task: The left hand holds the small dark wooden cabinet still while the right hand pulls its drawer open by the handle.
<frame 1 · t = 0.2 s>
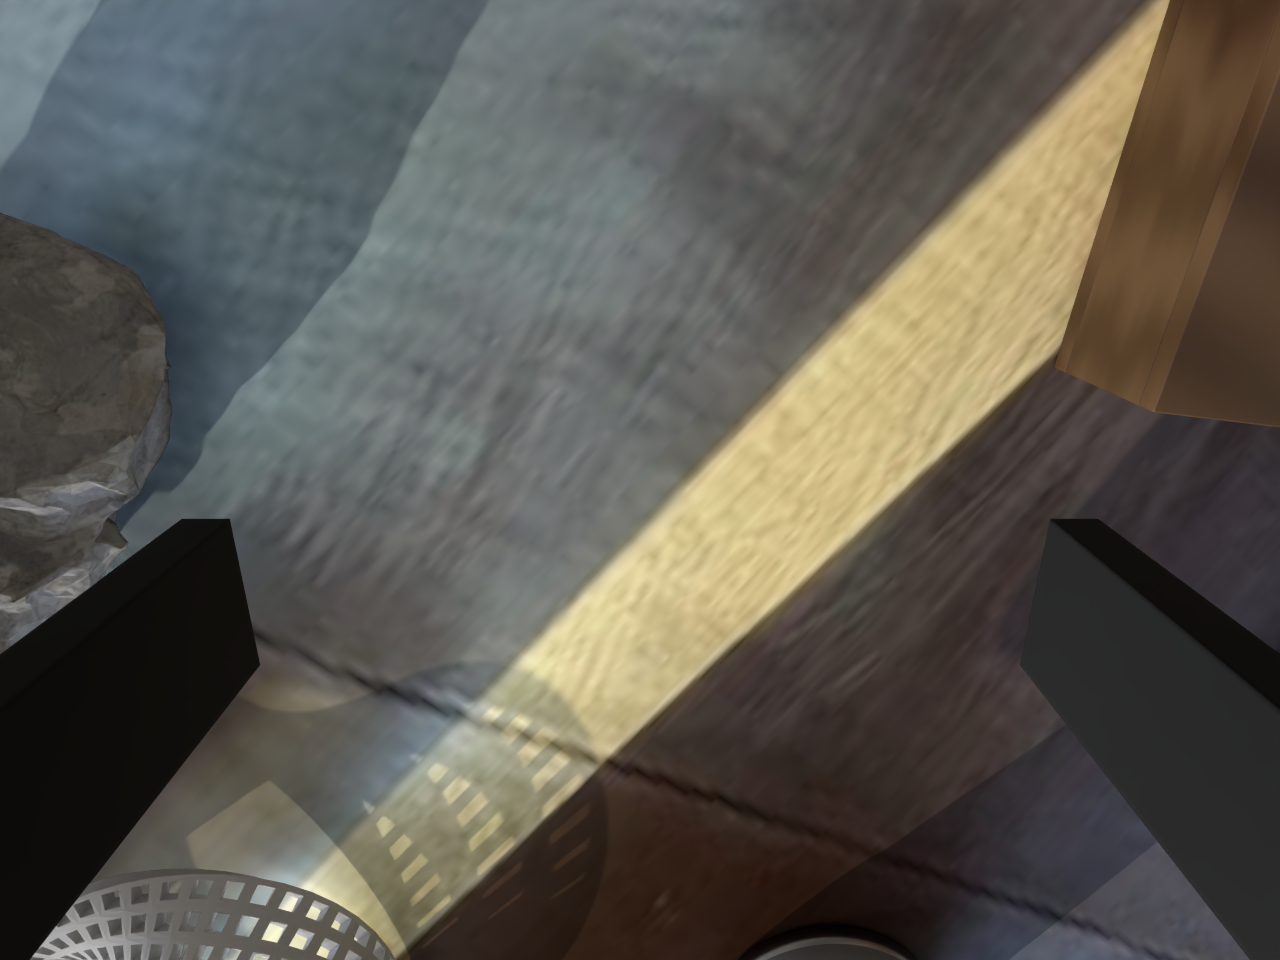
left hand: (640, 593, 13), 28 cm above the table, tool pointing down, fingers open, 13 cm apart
cabinet: (1222, 200, 37), on the table
decorative stone 2: (13, 486, 42), on the table
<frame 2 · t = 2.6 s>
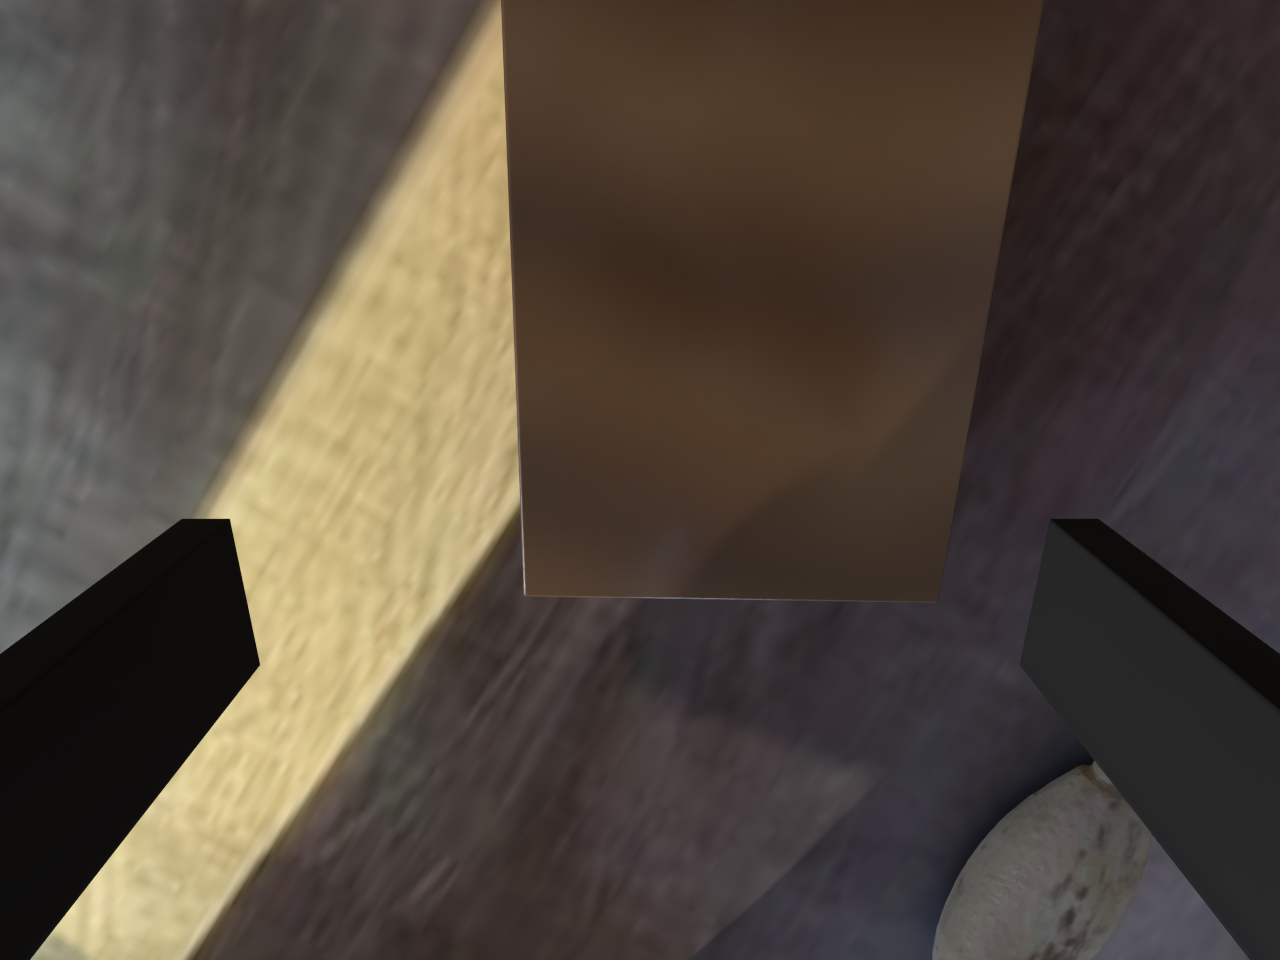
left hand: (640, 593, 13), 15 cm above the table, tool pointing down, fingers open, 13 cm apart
cabinet: (719, 232, 25), on the table
decorative stone: (1024, 857, 34), on the table
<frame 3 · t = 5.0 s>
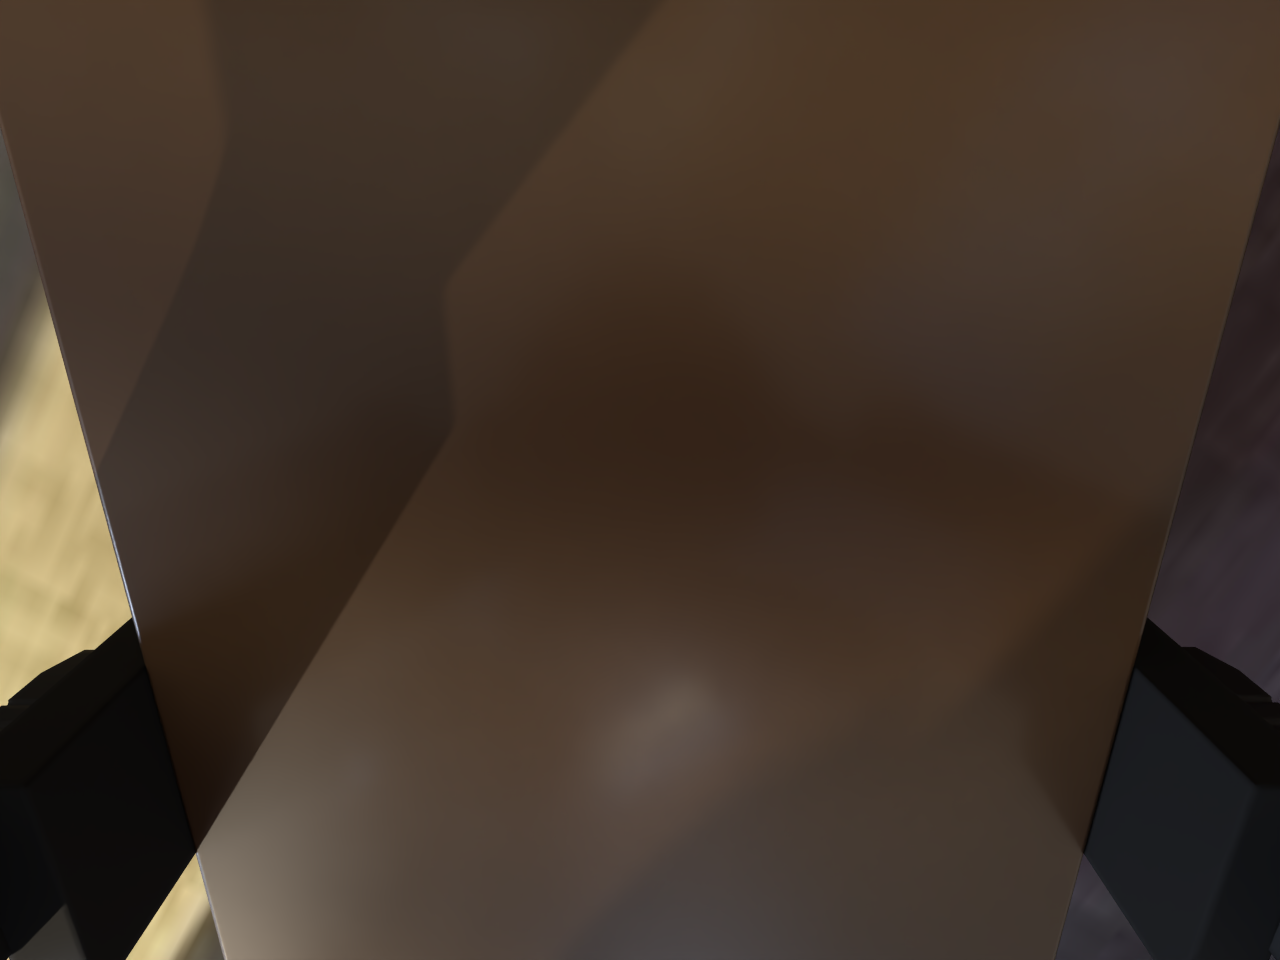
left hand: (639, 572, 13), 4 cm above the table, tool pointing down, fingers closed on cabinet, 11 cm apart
cabinet: (640, 273, 15), on the table, touching left hand
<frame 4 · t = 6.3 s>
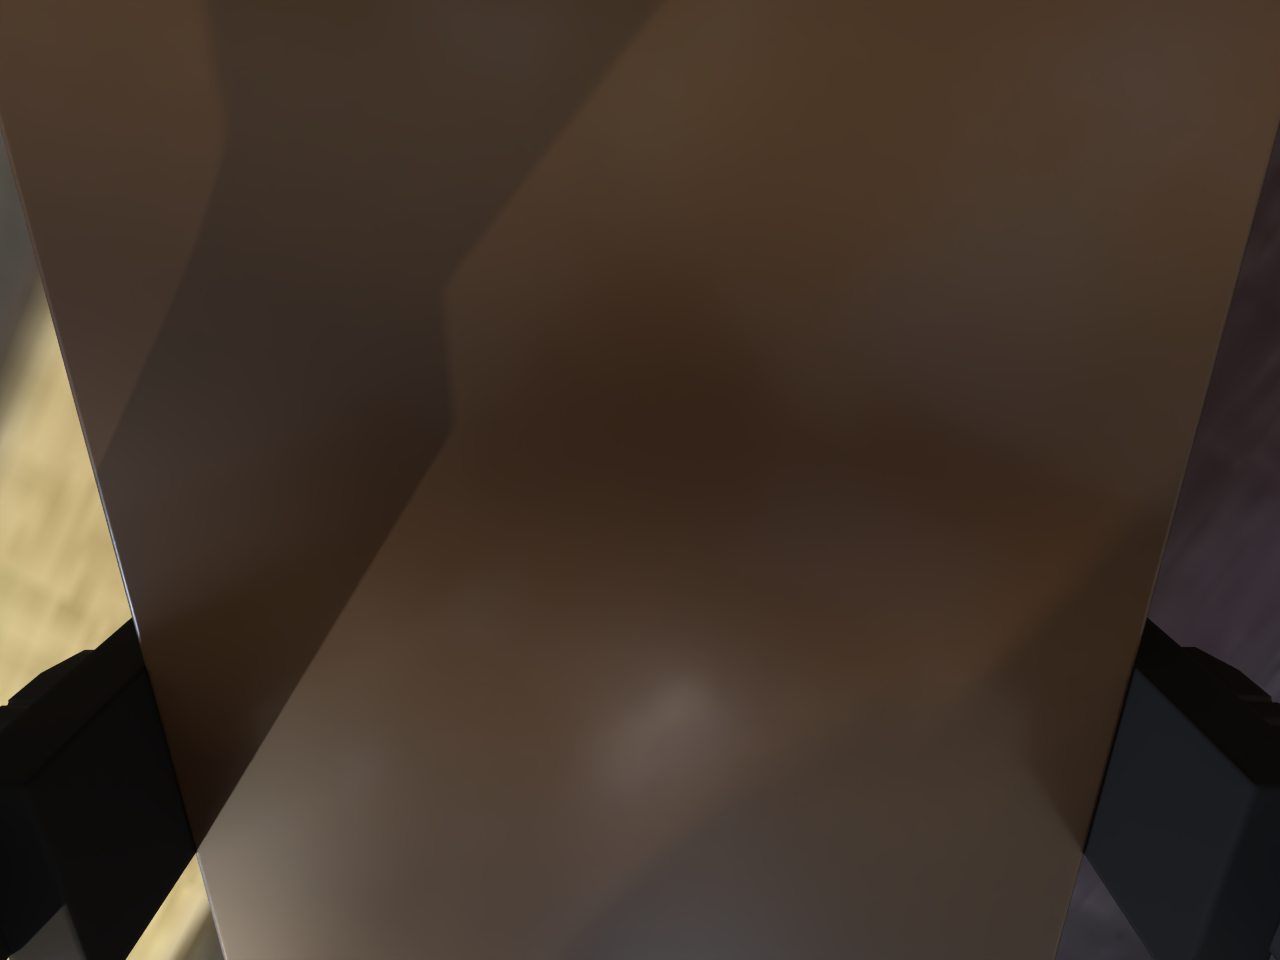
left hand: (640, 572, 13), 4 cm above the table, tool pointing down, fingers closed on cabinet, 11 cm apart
cabinet: (640, 273, 15), on the table, touching left hand
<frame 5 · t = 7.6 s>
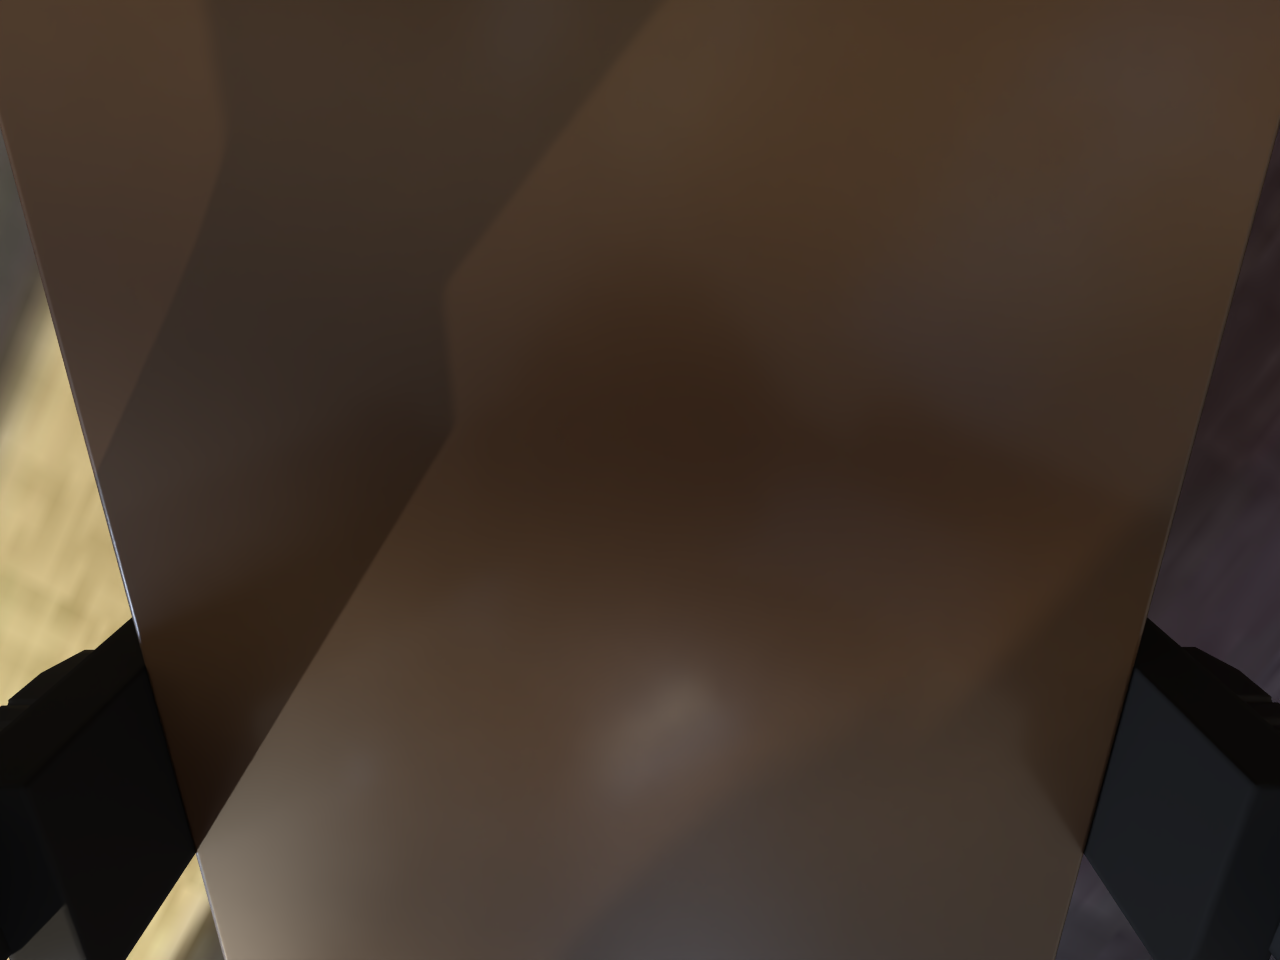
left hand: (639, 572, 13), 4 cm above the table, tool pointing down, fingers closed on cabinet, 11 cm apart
cabinet: (640, 273, 15), on the table, touching left hand
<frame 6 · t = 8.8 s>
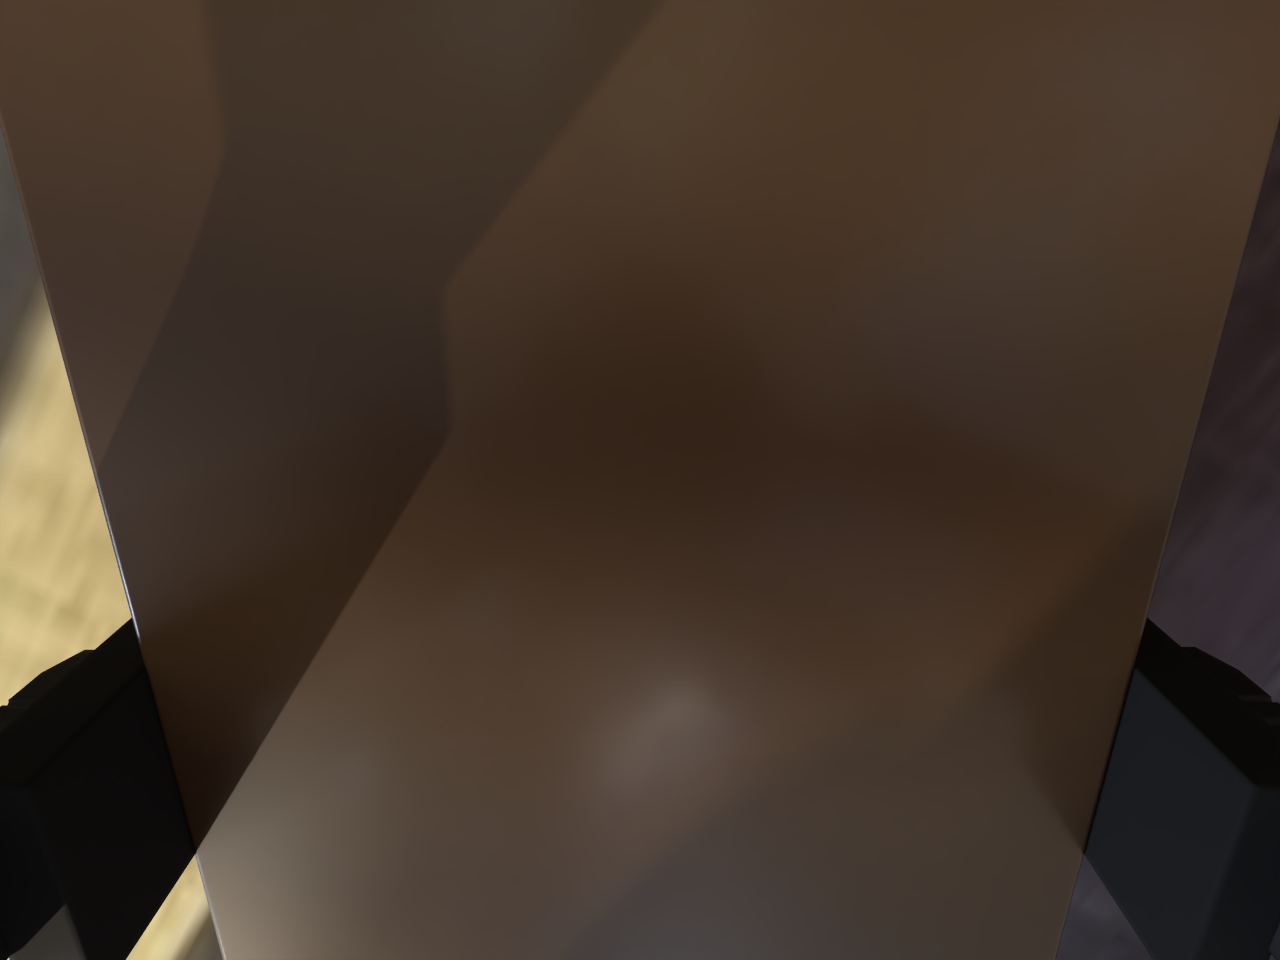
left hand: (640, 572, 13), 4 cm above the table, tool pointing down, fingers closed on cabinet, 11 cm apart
cabinet: (639, 274, 15), on the table, touching left hand
when the left hand's fingers open (4 cm above the table, at t = 10.8 s): cabinet stays where it is, on the table.
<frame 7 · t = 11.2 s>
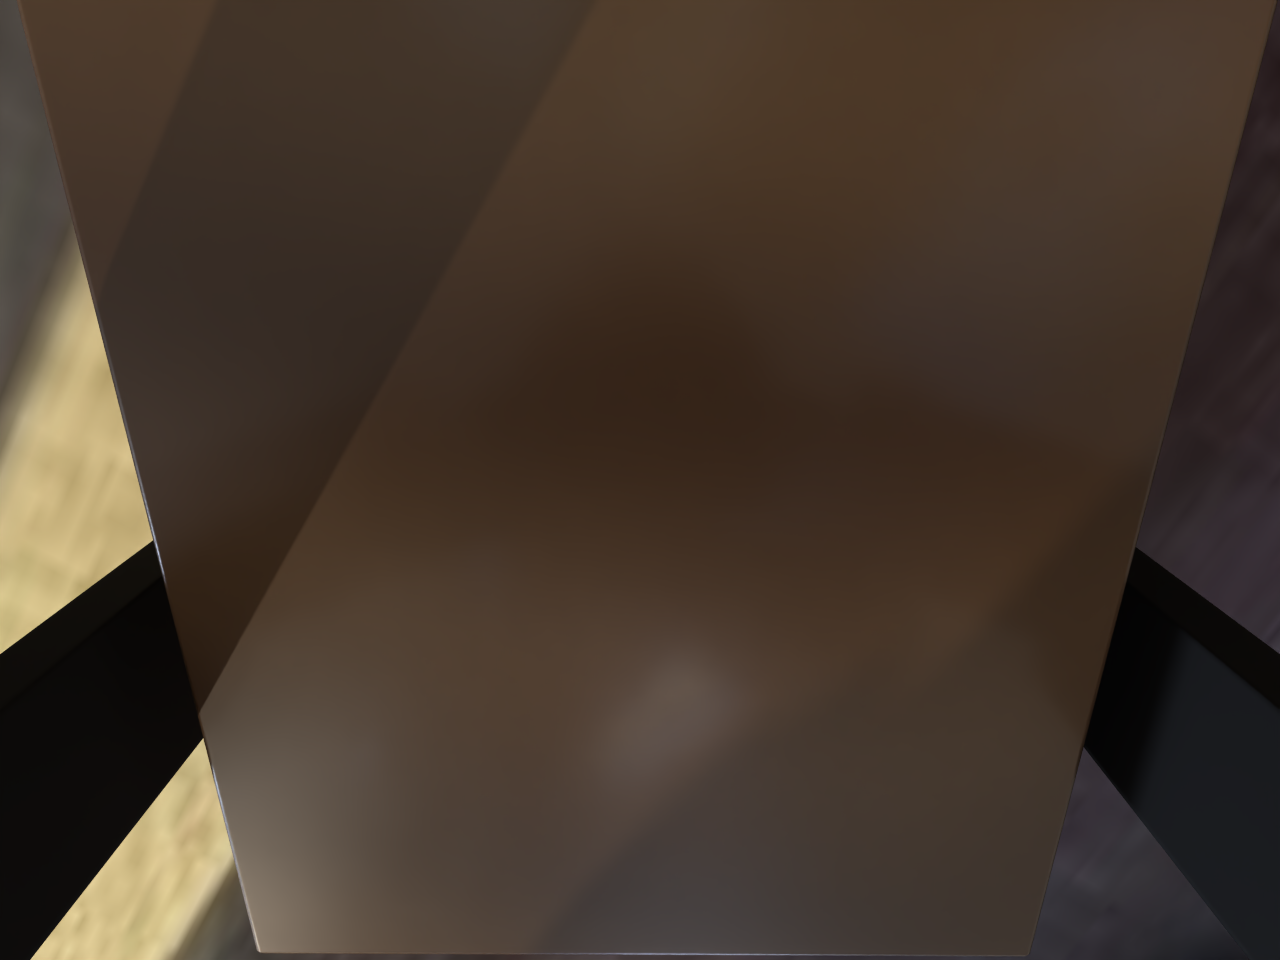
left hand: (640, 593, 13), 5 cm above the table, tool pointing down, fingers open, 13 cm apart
cabinet: (643, 254, 15), on the table
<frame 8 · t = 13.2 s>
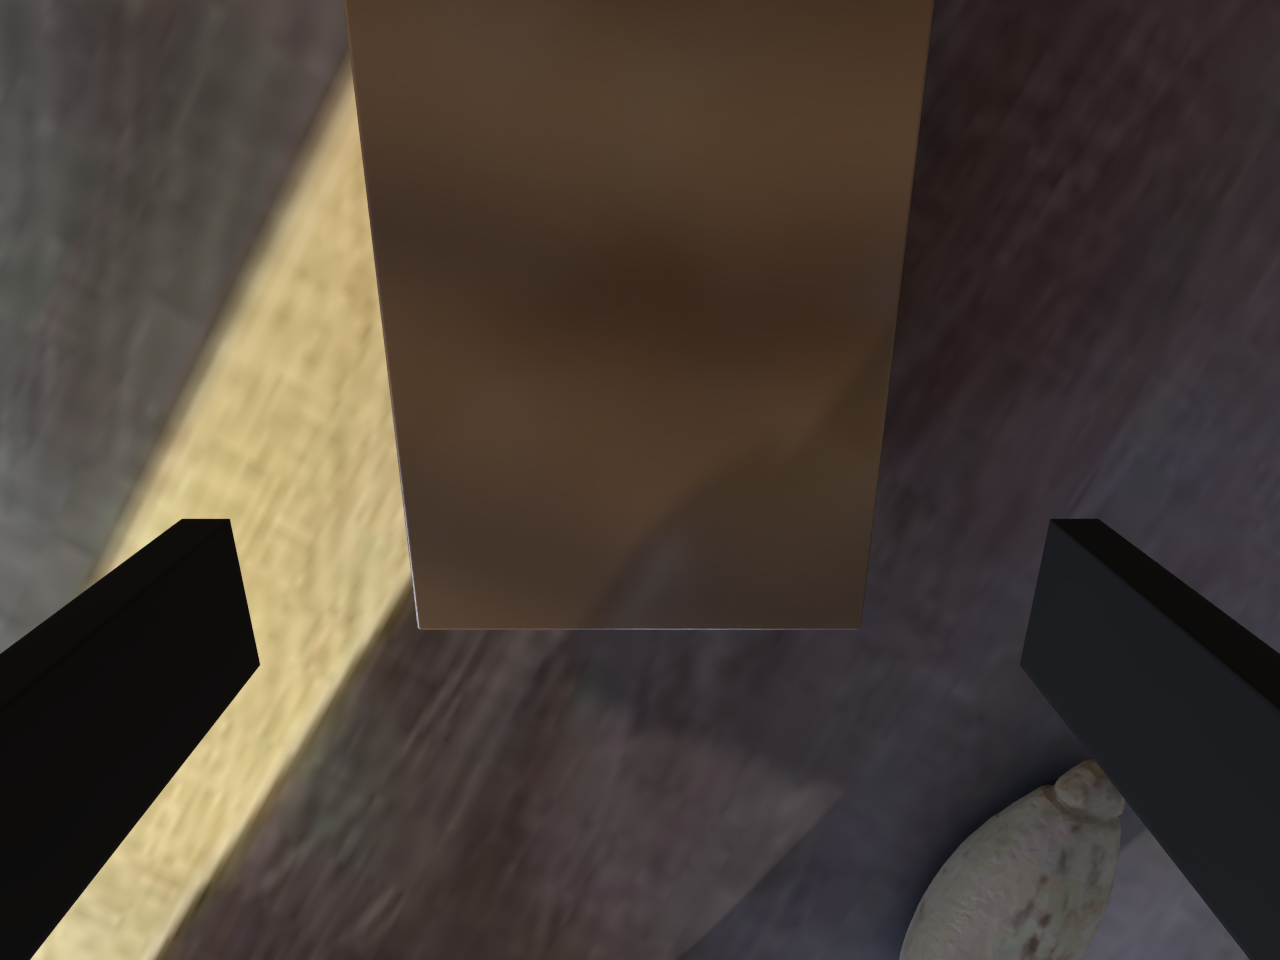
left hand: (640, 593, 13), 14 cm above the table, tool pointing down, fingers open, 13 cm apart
cabinet: (639, 235, 24), on the table
decorative stone: (989, 878, 33), on the table
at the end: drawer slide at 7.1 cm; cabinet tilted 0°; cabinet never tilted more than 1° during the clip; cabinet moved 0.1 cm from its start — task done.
